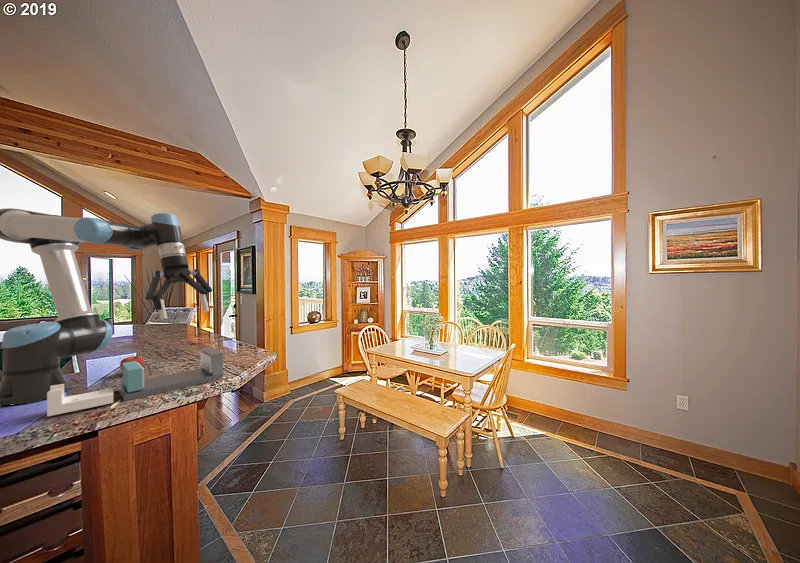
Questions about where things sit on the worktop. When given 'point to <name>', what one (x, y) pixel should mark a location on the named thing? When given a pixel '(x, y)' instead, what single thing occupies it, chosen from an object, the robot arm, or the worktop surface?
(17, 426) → the worktop surface
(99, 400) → the bracket
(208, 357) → the block
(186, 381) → the vise base
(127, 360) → the apple
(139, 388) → the block
